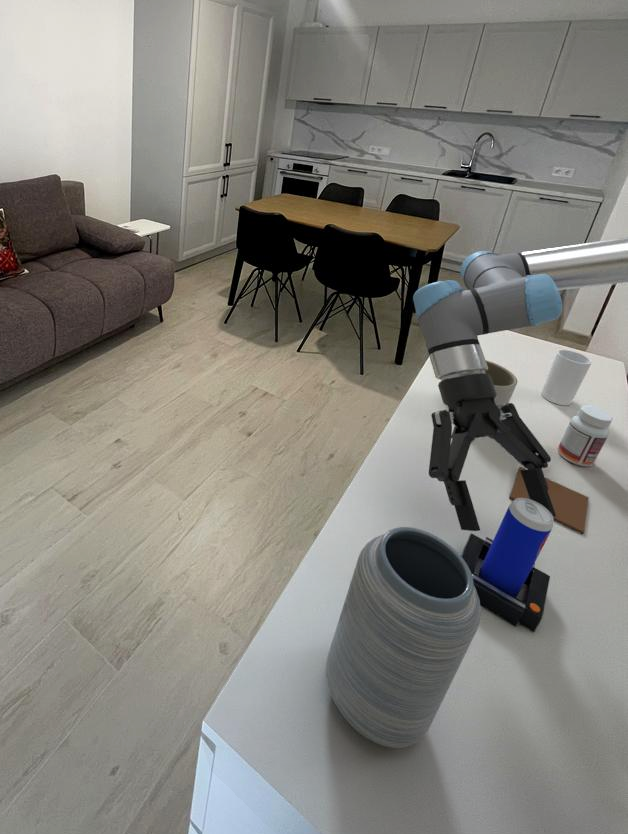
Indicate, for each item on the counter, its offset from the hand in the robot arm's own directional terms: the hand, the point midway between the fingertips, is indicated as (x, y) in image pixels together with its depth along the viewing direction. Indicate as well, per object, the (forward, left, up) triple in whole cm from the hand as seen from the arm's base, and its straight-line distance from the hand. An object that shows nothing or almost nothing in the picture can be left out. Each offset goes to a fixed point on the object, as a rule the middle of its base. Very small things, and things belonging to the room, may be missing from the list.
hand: (509, 523), depth 71 cm
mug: (-2, -71, -11) cm, 72 cm away
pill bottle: (-8, -45, -11) cm, 47 cm away
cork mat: (-5, -27, -10) cm, 29 cm away
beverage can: (-2, +1, -11) cm, 11 cm away
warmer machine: (-2, +1, -10) cm, 11 cm away
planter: (+12, -46, -11) cm, 49 cm away
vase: (+6, +29, -11) cm, 32 cm away
